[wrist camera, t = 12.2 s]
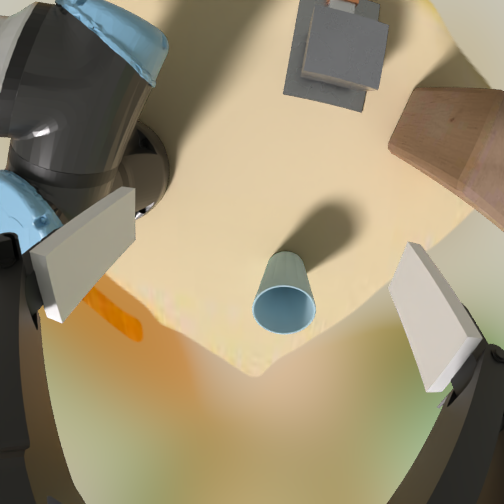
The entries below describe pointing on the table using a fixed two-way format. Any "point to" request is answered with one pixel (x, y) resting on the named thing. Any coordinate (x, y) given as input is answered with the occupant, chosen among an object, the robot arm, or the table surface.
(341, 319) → the table surface
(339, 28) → the grey metal cube
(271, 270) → the cup
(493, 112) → the wooden block
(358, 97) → the lever
